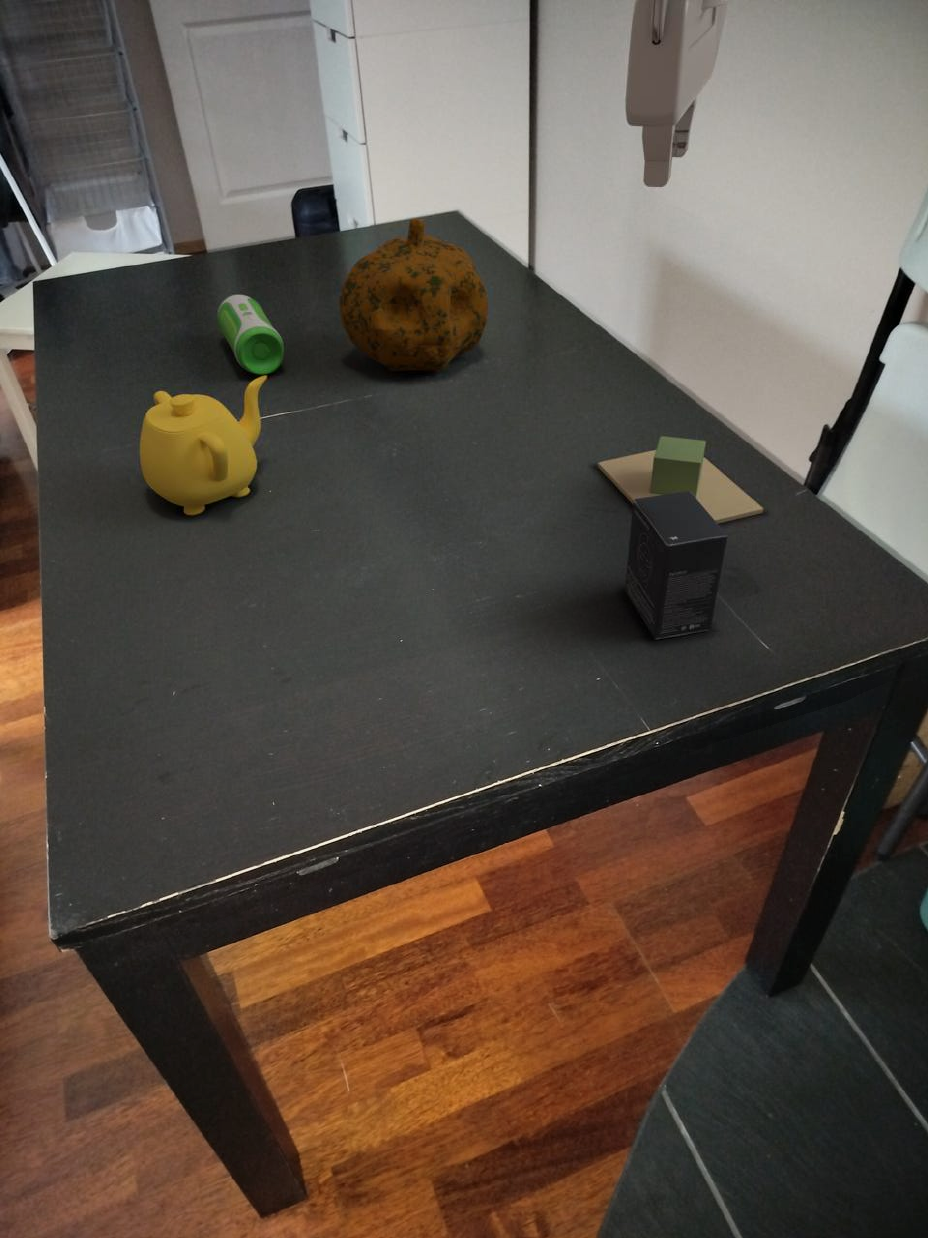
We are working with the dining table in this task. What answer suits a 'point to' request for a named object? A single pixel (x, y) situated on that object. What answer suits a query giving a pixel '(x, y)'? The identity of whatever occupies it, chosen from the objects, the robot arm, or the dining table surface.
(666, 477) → the green block
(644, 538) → the box
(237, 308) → the speaker
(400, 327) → the decorative pumpkin
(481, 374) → the dining table surface
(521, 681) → the dining table surface
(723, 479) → the mat
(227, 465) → the teapot
